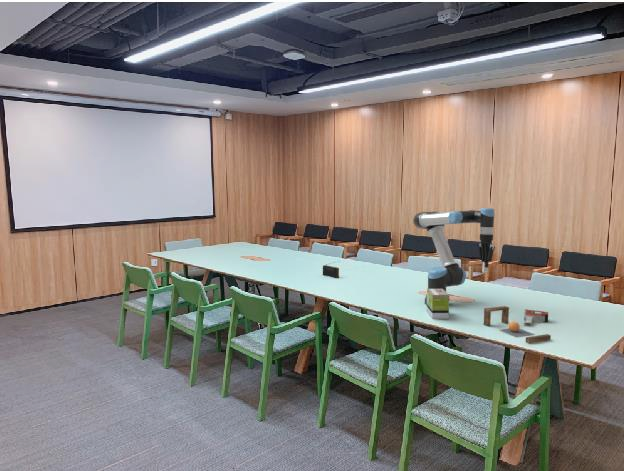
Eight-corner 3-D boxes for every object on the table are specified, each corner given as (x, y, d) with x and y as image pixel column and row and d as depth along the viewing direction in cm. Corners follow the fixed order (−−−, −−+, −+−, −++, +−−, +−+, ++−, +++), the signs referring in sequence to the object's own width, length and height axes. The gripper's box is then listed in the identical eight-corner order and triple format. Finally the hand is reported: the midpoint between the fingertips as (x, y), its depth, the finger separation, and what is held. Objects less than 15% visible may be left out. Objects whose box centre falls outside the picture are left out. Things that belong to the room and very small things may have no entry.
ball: (513, 333, 232) (505, 330, 237) (521, 332, 234) (514, 329, 239) (513, 323, 232) (506, 320, 237) (522, 322, 233) (514, 319, 239)
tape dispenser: (526, 330, 243) (558, 326, 247) (526, 321, 242) (558, 316, 246) (506, 319, 260) (537, 315, 264) (506, 310, 259) (537, 306, 263)
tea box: (425, 311, 273) (426, 288, 271) (442, 311, 272) (443, 288, 270) (431, 319, 258) (432, 294, 256) (449, 319, 257) (450, 294, 256)
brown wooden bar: (525, 342, 220) (525, 337, 220) (547, 338, 225) (547, 334, 224) (528, 343, 218) (528, 338, 218) (550, 340, 223) (550, 335, 223)
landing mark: (499, 330, 238) (499, 329, 238) (516, 327, 242) (516, 327, 242) (516, 337, 227) (516, 337, 227) (534, 334, 231) (534, 334, 231)
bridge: (483, 324, 248) (484, 308, 246) (504, 321, 252) (505, 305, 251) (487, 326, 245) (488, 309, 244) (508, 323, 250) (509, 307, 248)
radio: (322, 275, 380) (322, 258, 378) (324, 275, 382) (324, 257, 380) (338, 278, 366) (338, 260, 364) (340, 278, 368) (340, 260, 366)
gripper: (474, 232, 272) (472, 270, 274) (489, 235, 259) (487, 274, 262) (484, 232, 274) (482, 270, 277) (499, 234, 262) (497, 274, 265)
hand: (484, 272), depth 270 cm, fingers closed
